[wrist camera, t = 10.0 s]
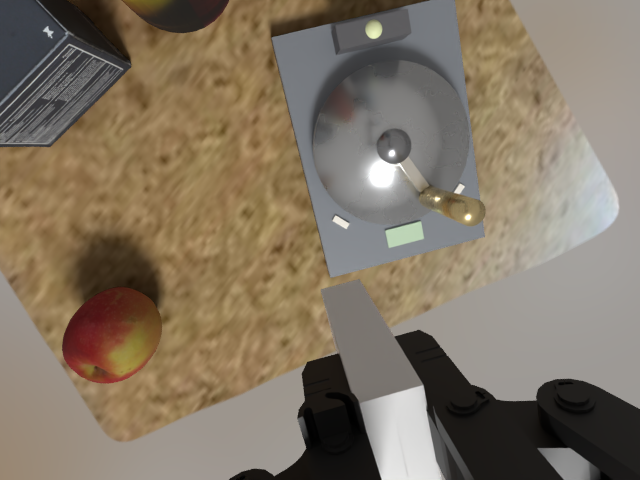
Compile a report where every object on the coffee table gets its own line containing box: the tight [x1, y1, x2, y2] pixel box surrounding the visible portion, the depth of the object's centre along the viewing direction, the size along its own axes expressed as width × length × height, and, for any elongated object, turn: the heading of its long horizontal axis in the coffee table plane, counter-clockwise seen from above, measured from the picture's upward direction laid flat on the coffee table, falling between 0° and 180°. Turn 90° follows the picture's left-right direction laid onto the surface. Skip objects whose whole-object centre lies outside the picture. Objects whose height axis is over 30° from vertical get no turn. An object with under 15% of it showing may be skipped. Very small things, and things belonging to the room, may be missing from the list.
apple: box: [62, 287, 162, 383], centre depth 35 cm, size 8×8×8 cm
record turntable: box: [272, 0, 485, 277], centre depth 36 cm, size 22×16×4 cm
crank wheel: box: [313, 60, 485, 226], centre depth 31 cm, size 14×14×9 cm
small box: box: [0, 0, 131, 147], centre depth 28 cm, size 11×6×10 cm, turn 132°
